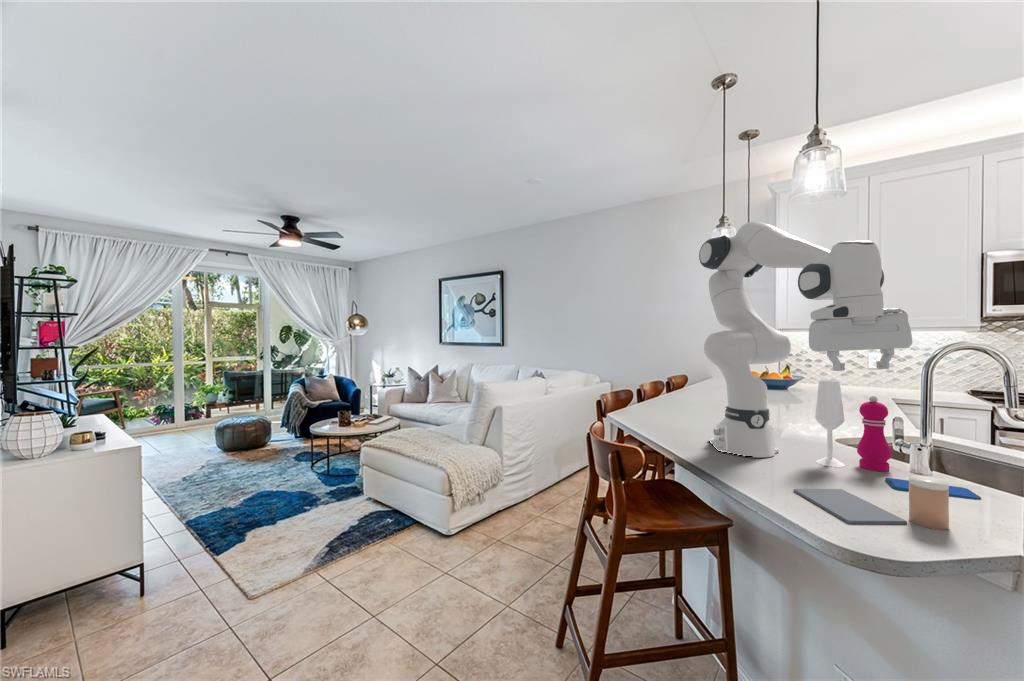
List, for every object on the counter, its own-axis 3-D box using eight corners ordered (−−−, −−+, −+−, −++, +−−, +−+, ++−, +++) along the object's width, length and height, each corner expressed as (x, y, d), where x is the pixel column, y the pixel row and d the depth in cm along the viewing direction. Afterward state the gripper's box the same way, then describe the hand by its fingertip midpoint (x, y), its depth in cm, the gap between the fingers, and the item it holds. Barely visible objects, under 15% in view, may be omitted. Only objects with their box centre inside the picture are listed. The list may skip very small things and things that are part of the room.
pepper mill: (877, 464, 117) (877, 394, 117) (899, 472, 110) (898, 398, 109) (850, 463, 117) (849, 394, 117) (870, 471, 110) (869, 398, 110)
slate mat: (793, 491, 98) (793, 488, 98) (841, 491, 97) (841, 488, 97) (848, 523, 81) (848, 520, 81) (906, 524, 80) (906, 521, 80)
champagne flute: (851, 465, 115) (850, 381, 115) (832, 468, 114) (831, 382, 114) (827, 459, 122) (827, 378, 122) (809, 461, 120) (808, 379, 120)
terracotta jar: (901, 517, 83) (900, 475, 83) (929, 517, 83) (929, 475, 83) (927, 529, 78) (926, 485, 78) (957, 529, 77) (957, 485, 77)
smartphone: (983, 498, 91) (894, 486, 98) (983, 503, 91) (894, 490, 98) (966, 487, 97) (883, 477, 104) (966, 491, 97) (883, 480, 104)
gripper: (895, 308, 96) (898, 367, 96) (803, 313, 98) (806, 370, 98) (919, 306, 90) (922, 369, 90) (820, 311, 92) (823, 372, 92)
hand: (860, 369), depth 94 cm, fingers open, 8 cm apart
